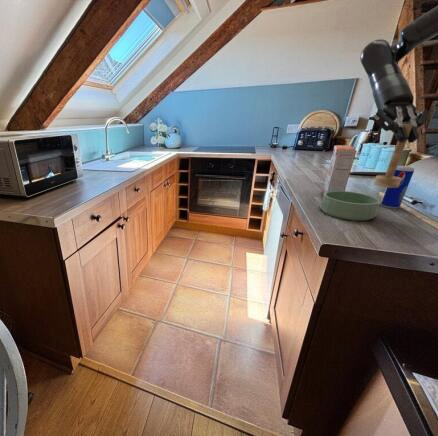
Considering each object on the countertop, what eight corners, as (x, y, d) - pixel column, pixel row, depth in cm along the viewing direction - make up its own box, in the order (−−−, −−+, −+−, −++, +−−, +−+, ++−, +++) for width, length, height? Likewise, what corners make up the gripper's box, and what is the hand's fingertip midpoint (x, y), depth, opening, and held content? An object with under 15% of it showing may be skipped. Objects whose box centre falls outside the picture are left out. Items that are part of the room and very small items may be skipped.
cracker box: (321, 192, 110) (334, 144, 102) (338, 194, 108) (352, 145, 100) (323, 201, 99) (337, 148, 91) (341, 203, 97) (358, 149, 88)
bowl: (362, 207, 92) (367, 192, 89) (384, 223, 78) (390, 206, 76) (314, 204, 96) (318, 189, 94) (327, 218, 83) (332, 202, 80)
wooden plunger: (391, 183, 75) (414, 123, 68) (402, 188, 70) (428, 124, 64) (369, 182, 77) (390, 124, 70) (379, 187, 72) (401, 124, 65)
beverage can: (386, 208, 91) (401, 168, 85) (377, 203, 95) (391, 165, 89) (402, 209, 89) (419, 168, 84) (393, 204, 94) (408, 165, 88)
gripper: (375, 84, 70) (391, 131, 64) (429, 82, 69) (452, 130, 62) (357, 104, 77) (370, 149, 71) (406, 103, 75) (425, 149, 69)
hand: (408, 140), depth 67 cm, fingers closed on wooden plunger
